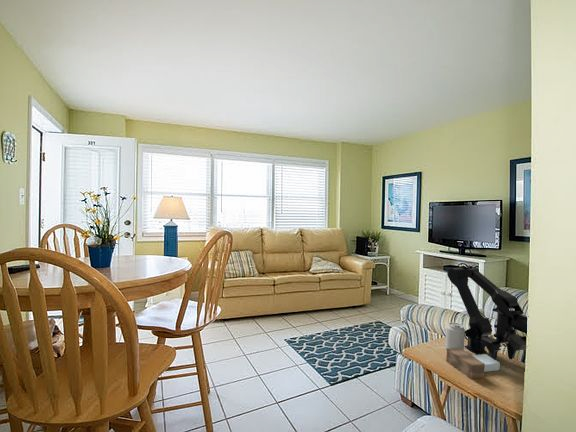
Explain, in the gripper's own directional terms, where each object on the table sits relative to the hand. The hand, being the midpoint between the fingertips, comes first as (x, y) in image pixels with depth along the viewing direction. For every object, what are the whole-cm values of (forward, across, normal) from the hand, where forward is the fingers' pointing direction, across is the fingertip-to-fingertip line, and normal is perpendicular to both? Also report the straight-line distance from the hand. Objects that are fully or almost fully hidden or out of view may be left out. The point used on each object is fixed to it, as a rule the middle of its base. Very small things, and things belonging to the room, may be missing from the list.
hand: (502, 360), depth 130 cm
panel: (+2, -11, 0) cm, 12 cm away
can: (+2, -11, +14) cm, 18 cm away
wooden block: (+2, -19, 0) cm, 19 cm away
